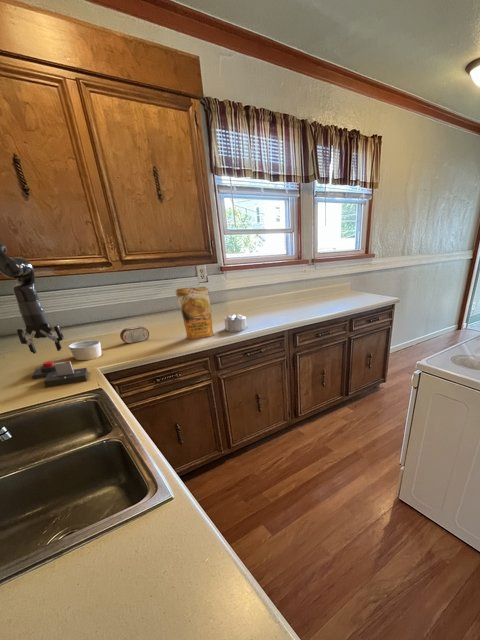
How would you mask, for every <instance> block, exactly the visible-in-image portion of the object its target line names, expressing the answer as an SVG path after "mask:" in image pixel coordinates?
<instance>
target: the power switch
mask: <svg viewBox="0 0 480 640" xmlns="http://www.w3.org/2000/svg"><path fill="white" fill-rule="evenodd" d="M53 372H56V369H55V366H52V367H47V368H46V367H44V365H43V364H42V365H41V366H39V367H38V368H35V370H34V371H33V373H32V375H31V377H32V380H39V379H45V378H46V376H47V374H48V373H53Z"/></svg>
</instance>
